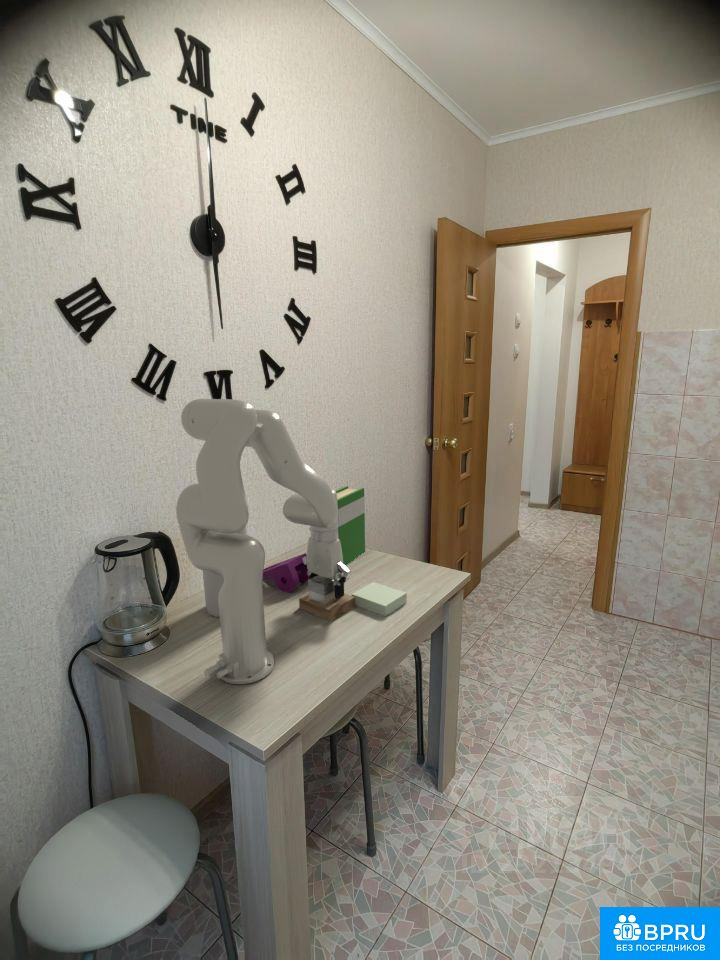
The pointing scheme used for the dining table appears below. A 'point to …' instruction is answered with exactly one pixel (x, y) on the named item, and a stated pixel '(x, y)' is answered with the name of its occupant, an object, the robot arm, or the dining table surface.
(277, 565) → the mounting bracket
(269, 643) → the dining table surface
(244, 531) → the cylinder vase
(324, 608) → the stand
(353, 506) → the hardback book
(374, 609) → the stand
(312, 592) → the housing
